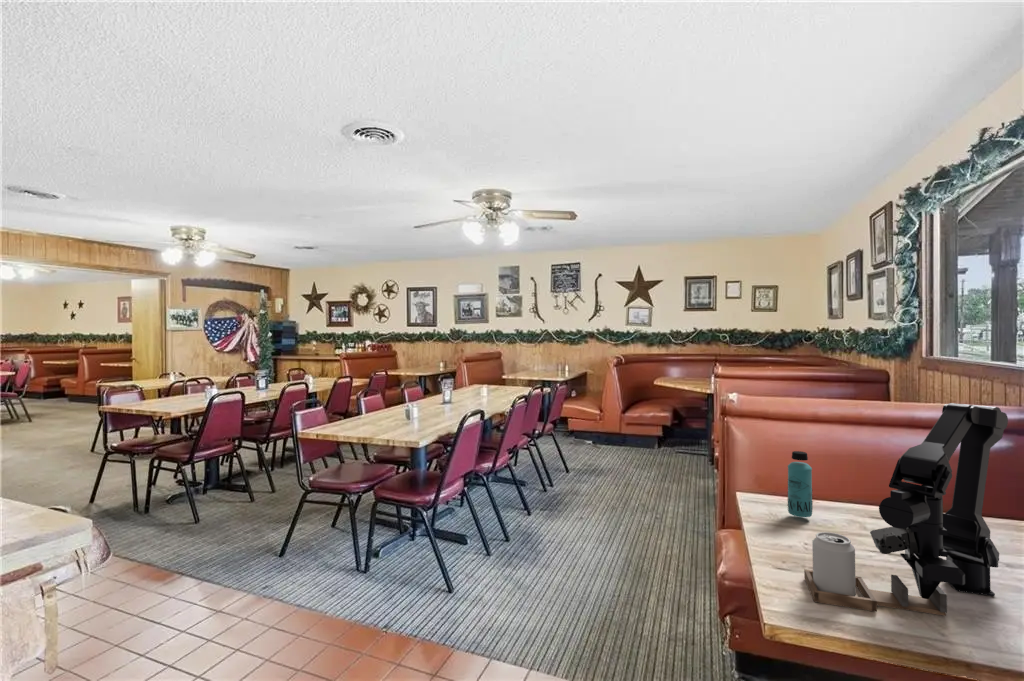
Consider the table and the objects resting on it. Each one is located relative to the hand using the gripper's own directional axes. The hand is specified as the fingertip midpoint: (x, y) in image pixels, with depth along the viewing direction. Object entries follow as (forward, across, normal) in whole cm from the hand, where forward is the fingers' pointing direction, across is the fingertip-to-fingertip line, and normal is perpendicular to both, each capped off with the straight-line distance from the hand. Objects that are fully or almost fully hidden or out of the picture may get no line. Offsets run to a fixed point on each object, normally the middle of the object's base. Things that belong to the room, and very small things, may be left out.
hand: (924, 597), depth 97 cm
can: (+2, 0, -15) cm, 15 cm away
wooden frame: (+2, 0, -9) cm, 9 cm away
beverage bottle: (+2, -47, -15) cm, 49 cm away
